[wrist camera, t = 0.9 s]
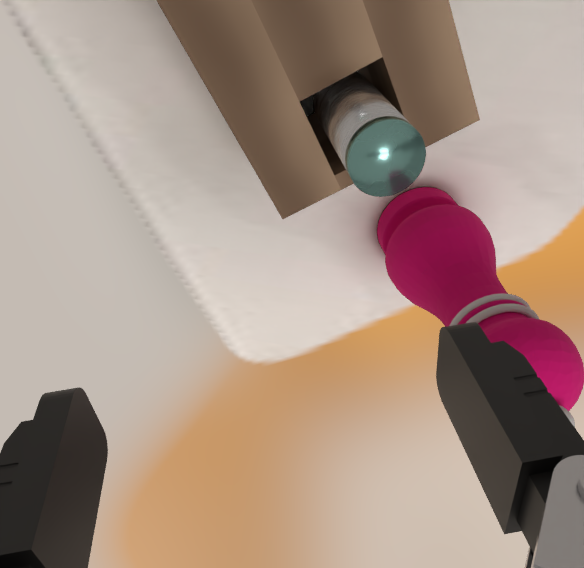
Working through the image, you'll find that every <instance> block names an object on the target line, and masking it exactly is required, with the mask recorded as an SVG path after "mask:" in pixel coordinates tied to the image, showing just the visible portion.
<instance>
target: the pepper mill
mask: <svg viewBox="0 0 584 568" xmlns="http://www.w3.org/2000/svg"><path fill="white" fill-rule="evenodd" d="M377 236H378V241H379V244H380V245H381V247H382V249H383V251H384V253H385V255H386V257H385V263H386V269H387V272H388V275H389V277H390V279H391V280H392V282H393V283H394V285H395V286H396V288H397V289H398V290H399V291H400V293H401V294H402V295H404V296H405V297H406V298H407V299H409V300H410V301H411V302H412V303H414V304H415V305H417V306H419V307H421V308H423V309H425V310H427V311H429V312H430V313H432V314H433V315H435V316H436V317H437V318H439V319H440V320H441V321H442V323H443V324H444V325H445V327H447V326H453V325H459V324H465V323H470V322H476V323H478V324H479V326H480V327H481V328H482V330H483V332H484V333H485V335H486V336H487V338H488V339H489V341H490V342H491V343H493V342H499V341H505V342H506V343H508V344H509V345H510V346H512V347H513V348H515V349H516V350H517V351H519V352H520V353H522V354H523V355H524V356H525V357H526V359H527V360H528V362H529V363H530V365H531V366H532V367H533V369H534V370H535V372H536V373H537V377H538V378H539V377H540V379H541V380H542V382H543V383H544V385H545V386H546V387H547V390H548V393H551V395H552V396H553V397H554V399H555V400H556V402H557V403H558V405H559V406H560V407H561V409H562V410H563V412H564V413H565V415H566V416H567V417H568V419H569V420H570V422H571V423H572V425H573V426H574V427H575V422H574V419H573V417H572V415H571V414H570V413H569V410H570V409H571V408H572V407H573V406H574V404H575V403H576V402H577V400H578V398H579V396H580V394H581V391H582V389H583V384H584V367H583V362H582V359H581V357H580V354H579V352H578V350H577V348H576V346H575V345H574V344H573V342H572V341H571V339H570V338H569V337H568V336H567V335H566V334H565V333H564V332H563V331H562V330H561V329H559V328H558V327H556V326H555V325H553V324H551V323H549V322H547V321H543V320H539V318H538V316H537V314H536V313H535V312H534V311H533V310H531V308H530V307H529V305H528V303H527V302H526V301H524V300H523V299H522V298H520V297H518V296H516V295H512V294H508V293H507V292H506V291H505V289H504V288H503V286H502V285H501V283H500V281H499V280H498V278H497V275H496V257H495V248H494V245H493V241H492V238H491V235H490V233H489V231H488V230H487V228H486V227H485V225H484V224H483V222H482V221H481V219H480V218H479V217H478V216H477V215H475V214H474V213H473V212H471V211H470V210H468V209H466V208H463V207H461V206H458V205H457V204H456V202H455V201H454V200H453V199H452V198H451V197H450V196H449V195H448V194H447V193H445V192H444V191H442V190H439V189H437V188H431V187H421V188H415V189H412V190H409V191H407V192H404V193H402V194H401V195H399V196H397V197H396V198H395V199H394V200H392V201H391V202H390V203H389V205H388V206H387V207H386V208H385V210H384V211H383V213H382V215H381V217H380V219H379V222H378V227H377Z"/></svg>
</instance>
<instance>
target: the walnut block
mask: <svg viewBox="0 0 584 568" xmlns="http://www.w3.org/2000/svg"><path fill="white" fill-rule="evenodd" d="M157 2H158V4H159V5H160V7H161V9H162V11H163V12H164V14H165V16H166V18H167V19H168V21H169V23H170V25H171V26H172V28H173V30H174V31H175V33H176V35H177V37H178V38H179V40H180V42H181V44H182V45H183V47H184V49H185V51H186V52H187V54H188V56H189V57H190V59H191V61H192V63H193V64H194V66H195V68H196V70H197V71H198V73H199V75H200V77H201V78H202V80H203V82H204V83H205V85H206V87H207V89H208V90H209V92H210V94H211V96H212V97H213V99H214V101H215V103H216V104H217V106H218V108H219V109H220V111H221V113H222V115H223V116H224V118H225V120H226V122H227V123H228V125H229V127H230V129H231V130H232V132H233V134H234V136H235V137H236V139H237V141H238V142H239V144H240V146H241V148H242V149H243V151H244V153H245V155H246V156H247V158H248V160H249V162H250V163H251V165H252V167H253V168H254V170H255V172H256V174H257V175H258V177H259V179H260V181H261V182H262V184H263V186H264V188H265V189H266V191H267V193H268V194H269V196H270V198H271V200H272V201H273V203H274V205H275V207H276V208H277V210H278V212H279V214H280V215H281V217H282V219H284V218H286V217H288V216H290V215H292V214H294V213H296V212H298V211H300V210H302V209H304V208H306V207H308V206H310V205H312V204H314V203H316V202H318V201H320V200H322V199H324V198H326V197H328V196H330V195H332V194H334V193H336V192H338V191H340V190H342V189H344V188H346V187H348V186H350V185H352V184H354V183H353V181H352V179H351V177H350V176H349V174H348V172H347V170H346V168H345V167H344V165H343V163H342V161H341V160H340V158H339V156H338V154H337V152H336V151H335V149H334V147H333V145H332V144H331V142H330V140H329V138H328V136H327V135H326V133H325V131H324V129H323V128H322V126H321V124H320V122H319V120H318V119H317V117H316V115H315V113H314V114H312V115H310V116H308V117H306V115H305V112H304V110H303V108H302V106H301V104H300V101H302V100H304V99H305V98H307V97H309V96H311V95H313V94H315V93H317V92H318V91H320V90H322V89H324V88H326V87H328V86H330V85H331V84H333V83H335V82H337V81H339V80H341V79H343V78H344V77H346V76H348V75H350V74H352V73H354V72H356V71H357V70H359V73H361V74H362V75H364V76H365V77H366V78H367V79H368V80H369V81H370V82H371V83H372V84H373V86H374V87H375V88H376V89H377V90H378V91H379V92H380V93H381V94H382V95H383V96H384V97H385V98H386V99H387V100H388V101H389V102H390V103H391V104H392V105H393V106H394V107H395V108H396V109H397V110H398V111H399V112H400V113H401V114H402V115H403V116H404V117H405V118H406V119H407V121H408V122H409V123H410V124H411V125H412V126H413V127H414V128H415V129H416V130H417V131H418V132H419V133H420V135H421V136H422V138H423V140H424V143H425V147H427V146H429V145H431V144H433V143H435V142H437V141H439V140H441V139H443V138H445V137H447V136H449V135H451V134H453V133H455V132H457V131H459V130H461V129H463V128H465V127H467V126H469V125H471V124H472V123H474V122H476V121H478V120H480V119H479V115H478V111H477V107H476V104H475V100H474V96H473V92H472V88H471V84H470V81H469V77H468V73H467V69H466V65H465V61H464V58H463V54H462V50H461V46H460V42H459V39H458V35H457V31H456V27H455V23H454V19H453V16H452V12H451V8H450V4H449V0H157Z"/></svg>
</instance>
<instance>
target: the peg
mask: <svg viewBox="0 0 584 568" xmlns="http://www.w3.org/2000/svg"><path fill="white" fill-rule="evenodd" d="M313 107H314V112H315V115H316V117H317V119H318V120H319V122H320V124H321V126H322V128H323V129H324V131H325V133H326V135H327V136H328V138H329V140H330V142H331V144H332V145H333V147H334V149H335V151H336V152H337V154H338V156H339V158H340V160H341V161H342V163H343V165H344V167H345V168H346V170H347V172H348V174H349V176H350V177H351V179H352V181H353V183H354V184H355V185H356V187H358V188H359V189H360V190H361V191H363V192H364V193H366V194H369V195H372V196H379V197H382V196H390V195H393V194H396V193H398V192H401V191H402V190H404V189H406V188H407V187H408V186H409V185H411V184H412V183H413V182H414V181H415V179H416V178H417V177H418V175H419V174H420V172H421V170H422V168H423V166H424V162H425V157H426V149H425V143H424V140H423V138H422V136H421V135H420V133H419V132H418V131H417V130H416V129H415V128H414V127H413V126H412V125H411V124H410V123H409V122H408V121H407V119H406V118H405V117H404V116H403V115H402V114H401V113H400V112H399V111H398V110H397V109H396V108H395V107H394V106H393V105H392V104H391V103H390V102H389V101H388V100H387V99H386V98H385V97H384V96H383V95H382V94H381V93H380V92H379V91H378V90H377V89H376V88H375V87H374V86H373V84H372V83H371V82H370V81H369V80H368V79H367V78H366V77H365V76H364V75H362V74H361V73H359V72H357V71H356V72H354V73H352V74H350V75H348V76H346V77H344V78H343V79H341V80H339V81H337V82H335V83H333V84H331V85H330V86H328V87H326V88H324V89H322V90H320V91H318V92H317V93H315V94H314V99H313Z"/></svg>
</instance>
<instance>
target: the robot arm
mask: <svg viewBox="0 0 584 568" xmlns="http://www.w3.org/2000/svg"><path fill="white" fill-rule="evenodd" d="M436 375H437V376H436V378H437V386H438V390H439V394H440V397H441V400H442V402H443V404H444V407H445V409H446V411H447V413H448V415H449V417H450V419H451V422H452V424H453V426H454V428H455V430H456V432H457V434H458V436H459V438H460V441H461V443H462V445H463V447H464V449H465V451H466V453H467V455H468V458H469V460H470V462H471V464H472V466H473V468H474V470H475V473H476V474H477V477H478V479H479V481H480V483H481V485H482V487H483V490H484V492H485V494H486V496H487V498H488V500H489V502H490V504H491V507H492V508H493V511H494V513H495V515H496V517H497V519H498V521H499V524H500V525H501V528H502V530H503V532H504V534H508V533H513V532H518V531H522V532H523V534H524V536H525V538H526V539H527V541H528V544H529V546H530V548H529V551H528V555H527V560H526V564H525V568H584V440H583V439H582V437H581V436H580V435H579V433H578V432H577V431H576V429H575V427H574V426H573V425H572V423H571V422H570V420H569V419H568V417H567V416H566V415H565V413H564V412H563V410H562V409H561V407H560V406H559V405H558V403H557V402H556V400H555V399H554V397H553V396H552V395H551V393H548V390H547V387H546V386H545V385H544V383H543V382H542V380H541V379H540V377H539V378H538V377H537V373H536V372H535V370H534V369H533V367H532V366H531V365H530V363H529V362H528V360H527V359H526V357H525V356H524V355H523V354H522V353H520V352H519V351H517V350H516V349H515V348H513V347H512V346H510V345H509V344H508V343H506V342H505V341H499V342H493V343H491V342H490V341H489V339H488V338H487V336H486V335H485V333H484V332H483V330H482V328H481V327H480V326H479V324H478V323H476V322H470V323H465V324H459V325H453V326H447V327H442V328H441V330H440V335H439V347H438V360H437V373H436ZM107 451H108V449H107V440H106V435H105V432H104V429H103V427H102V425H101V423H100V421H99V419H98V417H97V415H96V413H95V411H94V409H93V407H92V405H91V403H90V401H89V399H88V397H87V395H86V393H85V392H84V390H83V389H82V388H73V389H68V390H61V391H56V392H50V393H45V394H44V395H42V397H41V399H40V401H39V404H38V407H37V410H36V413H35V416H34V419H33V420H30V421H24V422H21V423H20V424H19V426H18V427H17V428H16V429H15V430H14V432H13V433H12V434H11V436H10V437H9V438H8V439H7V440H6V442H5V443H4V445H3V448H2V450H1V453H0V568H88V562H89V557H90V551H91V546H92V540H93V535H94V529H95V524H96V518H97V512H98V507H99V501H100V495H101V490H102V485H103V479H104V473H105V468H106V462H107V453H108V452H107Z"/></svg>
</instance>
